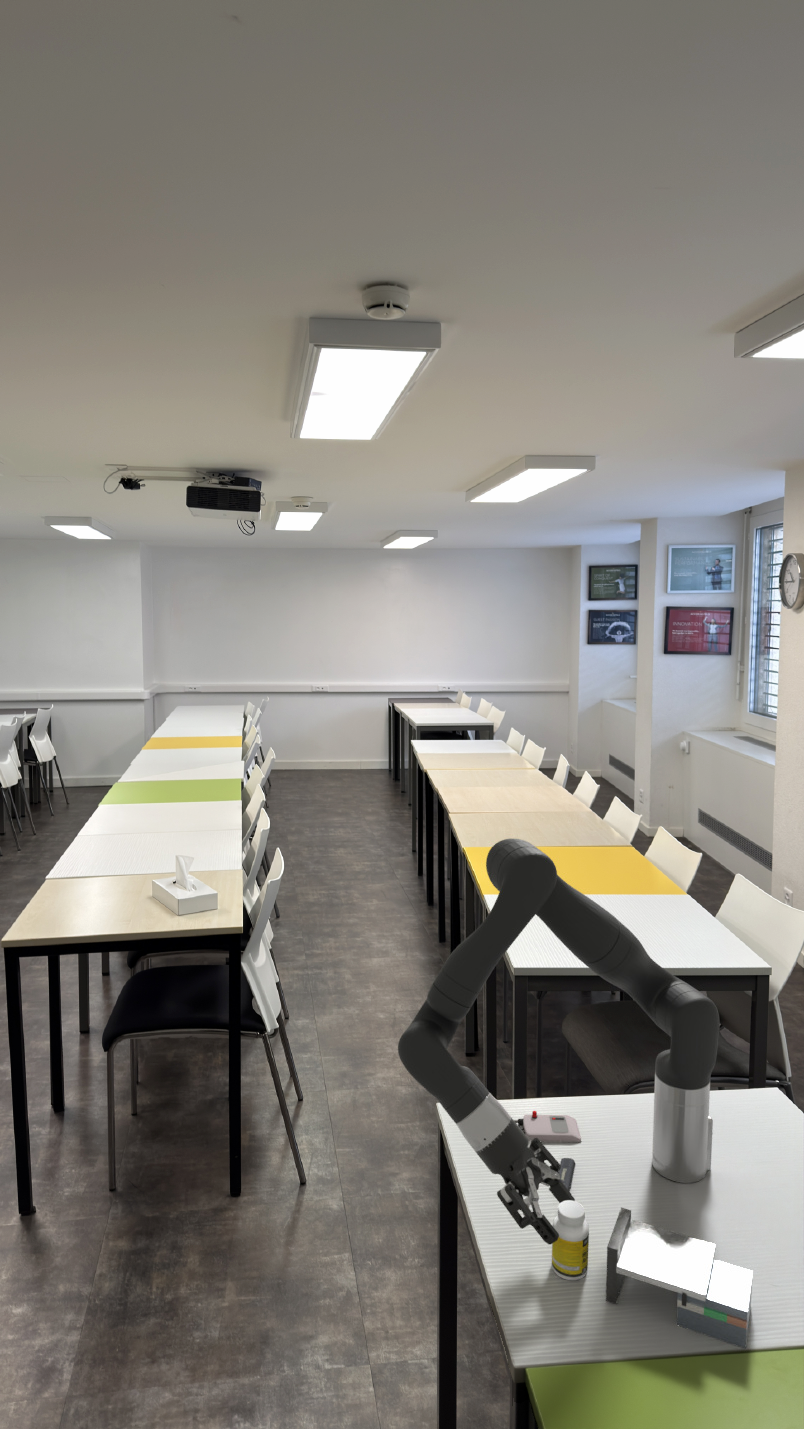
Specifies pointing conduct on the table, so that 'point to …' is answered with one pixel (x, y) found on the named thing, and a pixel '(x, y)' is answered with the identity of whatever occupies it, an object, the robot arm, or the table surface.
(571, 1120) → the electrical tester
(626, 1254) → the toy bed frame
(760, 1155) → the table surface
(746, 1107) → the table surface
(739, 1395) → the table surface
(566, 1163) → the usb stick
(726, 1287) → the gauge housing
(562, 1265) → the supplement bottle
